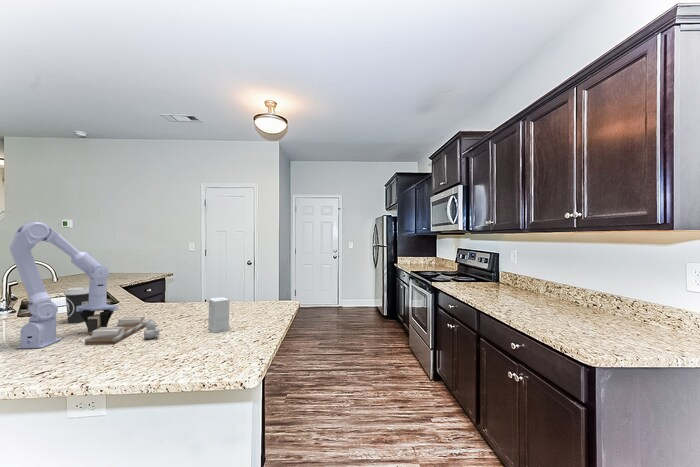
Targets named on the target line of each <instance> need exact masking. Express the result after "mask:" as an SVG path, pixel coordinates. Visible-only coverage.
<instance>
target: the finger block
mask: <svg viewBox="0 0 700 467" xmlns="http://www.w3.org/2000/svg"><path fill="white" fill-rule="evenodd" d="M99 328H101V316H100V313H94V315H92V316H90V317H88V329H87V335H89V336H90V335H91V336H92V331H94V330H96V329H99Z"/></svg>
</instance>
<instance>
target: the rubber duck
mask: <svg viewBox="0 0 700 467" xmlns="http://www.w3.org/2000/svg"><path fill="white" fill-rule="evenodd" d="M149 320H150V321H148V323H147V325H146V327H145V328H146V329H144V330H143V337H144V338H145V339H146V340H147V339H151V340H152V339H154V338H156V337H159V336H160V332H161V329H160V328H157V322H156V321H155V320H154V319H152V318H151V317H150V318H149Z"/></svg>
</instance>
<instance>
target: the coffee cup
mask: <svg viewBox="0 0 700 467" xmlns="http://www.w3.org/2000/svg"><path fill="white" fill-rule="evenodd" d="M63 295H64V296H65V302H66V304H65V305H66V314H67V323H68V324H80V323H85V321H84V319H83V317H82V316H81V315H80V313H82V312H83V311H77V312H76V307H77V306H85V305H89V286H81V287H80V286H79V287H70V288H69V287H68V288H67V289H66V290H65V291H64V294H63Z"/></svg>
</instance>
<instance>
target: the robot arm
mask: <svg viewBox="0 0 700 467" xmlns="http://www.w3.org/2000/svg"><path fill="white" fill-rule="evenodd" d="M39 242H45V243H51V244H52V245H54V246H55V247H57V249H60V250H61V251H62V252H63V253H65V254H67V256H69V257H70V258H71V259H70V262H71V264H73V265H74V266H75V267H77V268H78V269H80V271H82V272H83V273H85V274H86V276H87V278H89V279H88V282H89V283H88V287H89V305H85V306H77V307H76V312H77V311H83V312H82V313H80V315H81V316H82V317H83V319H84V321H85V322H84V323H85V325H86V328H87V330H88V317H90V316H92V315H95V314H96V313H95V312H98V311H99V314H100V316H101V327H108V324H109V321H110V319H111V317H112V315H113V313H114V312H117V311H119V305H118V304H117V305H116V304H107V297H108V296H107V294H108V293H107V292H108V291H107V290H108V289H107V288H108V283H107V282H108V280H107V279H108V278H109V276H110V272H109V269H108V267H106V266H103V265H101V264H102V262H100V261H97V260H96V259H95V258H94V257H92V254H91V252H86V251H79V250H78V249H77V248H76V247H75V246H73V245H72V244H71V243H70V242H69V241H68V240H67V239H65V238H64V237H63V236H62V235H61V234H60V233H59V232H57V231H56V230H54V229H53V228H51V227H49V226H48V225H47V224H46V223H44V222H41V221H34V222H30V221H29V222H26V223H24V224H22V225H21V226H20V227H19V228H18V229H17V230H16V231H15V235H14V236H13V238H12V241H11V243H10V246H9V252H10V255H11V257H12V259H13V262H14V264H15V266H16V268H17V272H18V275H19V276H20V279H21V281H22V284H23V286H24V288H25V292H26V295H27V300H28V303H29V304H28V309H27V310H28V312H29V313H30V314H31V316H30V317H29V318H28V321H27V323H26V324H23V326H22V327H21V329H20V334H19V335H20V337H19V338H20V342H19V346H17V349H41V348H45V347H47V346H49V345H52V344H54V343H56V342H57V343H58V342H59V341H61V340H63V338H62V337H57V313H58V311H59V307H58V305H57V304H56V303H55V302H54V301H52V298H51V297H50V295H49V294H48V292H47V290H46V287H45V285H44V282H43V279H42V276H41V275H40V271H39V269H38V266H37V264H36V261H35V259H34V256H33V254H32V249H34V247H35V246H36V245H37V244H38V243H39Z"/></svg>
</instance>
